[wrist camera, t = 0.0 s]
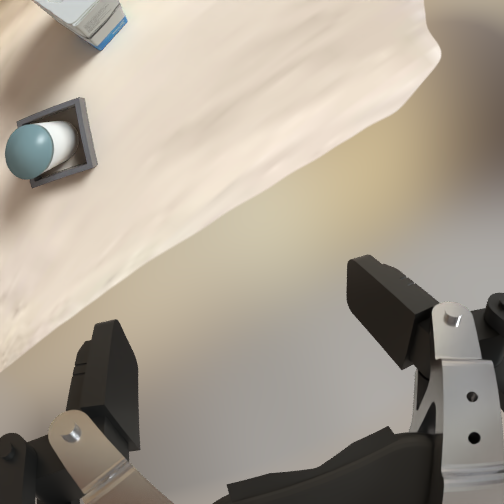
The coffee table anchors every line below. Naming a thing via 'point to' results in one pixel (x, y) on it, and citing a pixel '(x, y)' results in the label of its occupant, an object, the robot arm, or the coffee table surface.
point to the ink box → (88, 18)
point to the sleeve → (85, 137)
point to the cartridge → (40, 147)
